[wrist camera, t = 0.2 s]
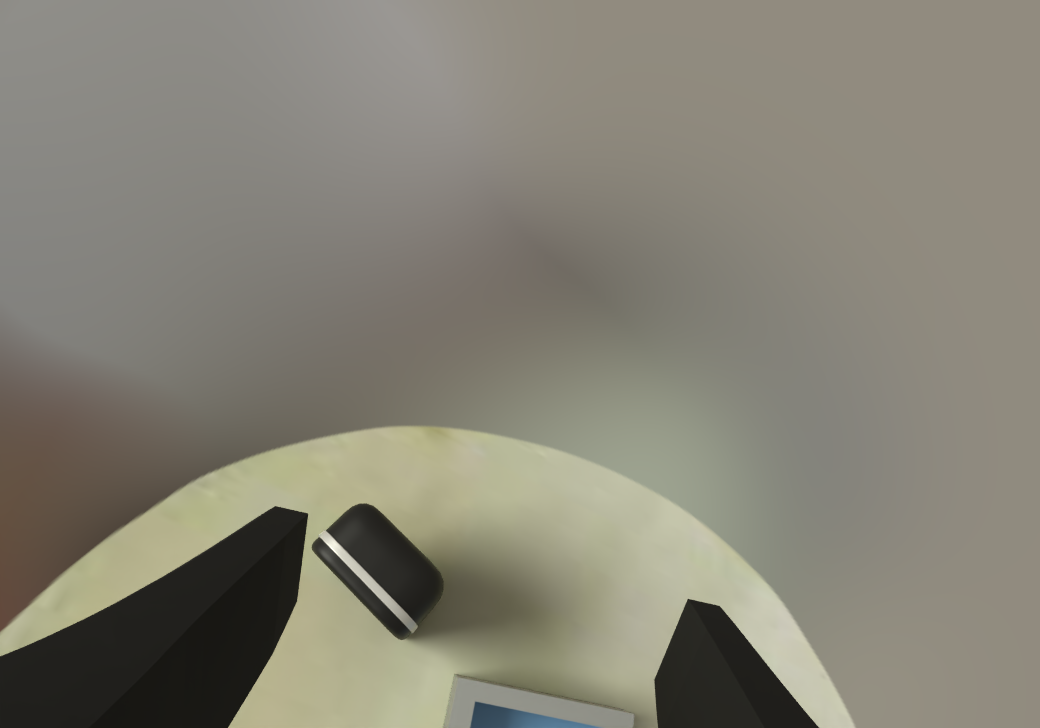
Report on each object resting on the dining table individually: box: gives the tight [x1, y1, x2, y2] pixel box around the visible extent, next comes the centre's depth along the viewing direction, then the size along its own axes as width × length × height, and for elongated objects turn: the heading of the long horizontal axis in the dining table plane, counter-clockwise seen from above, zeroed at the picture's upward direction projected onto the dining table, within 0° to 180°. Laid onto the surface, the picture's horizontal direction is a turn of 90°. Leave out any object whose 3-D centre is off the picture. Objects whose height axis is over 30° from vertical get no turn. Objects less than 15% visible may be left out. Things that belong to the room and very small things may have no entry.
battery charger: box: [312, 504, 443, 640], centre depth 34 cm, size 7×4×11 cm, turn 48°
